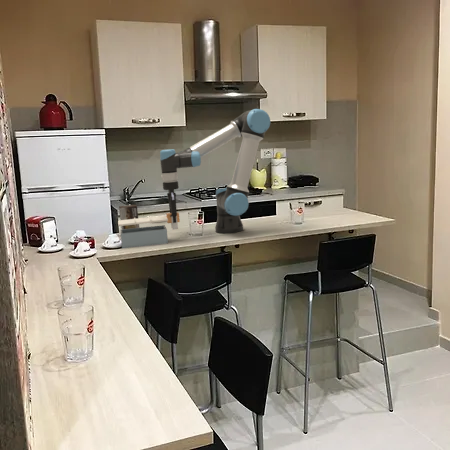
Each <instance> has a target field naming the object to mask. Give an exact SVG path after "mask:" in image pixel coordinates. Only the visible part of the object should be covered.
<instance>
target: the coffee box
mask: <svg viewBox="0 0 450 450" xmlns="http://www.w3.org/2000/svg"><path fill="white" fill-rule="evenodd" d="M118 208H119V209H118V210H119V211H118V212H119V218H120V219H119V220H128V219H134V218H135V219H137V218H139V211H138V205H137V204H128V205H120V206H119V207H118ZM120 227H121V229H131V228H140V224H135V225H125V226H120Z"/></svg>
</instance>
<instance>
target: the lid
mask: <svg viewBox="0 0 450 450" xmlns="http://www.w3.org/2000/svg"><path fill="white" fill-rule="evenodd" d="M170 215H171V213H170V212H166V213H165V215H156V216H151V215H148V216H147V217H138V218H137V219H135V218H134V219H128V220H121V219H119V220H118V221H117V224H118V227H121V226H125V225H135V224H139V225H144V224H152V223H161V222H166V224H171V223H172V220H171V217H170ZM180 222H181V221H180V213H179V211H177V223H180Z"/></svg>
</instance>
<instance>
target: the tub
mask: <svg viewBox="0 0 450 450" xmlns="http://www.w3.org/2000/svg"><path fill="white" fill-rule="evenodd" d="M120 241H121V248H122V249H127V248H128V249H129V248H137V247H138V248H139V247H147V246H155V245H165V244H168V243H169V241H168V229H167V227H166V225H154V226H144V227H139V228H131V229H122V228H121V229H120Z"/></svg>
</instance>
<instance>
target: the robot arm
mask: <svg viewBox="0 0 450 450" xmlns="http://www.w3.org/2000/svg"><path fill="white" fill-rule="evenodd" d="M270 126H271V118H270V116H269V114H268V112H266V111H265V110H264V109H261V108H253V109H251V110H246V111H244V112H243V113H241V114H240V115H239V116H237V117H236V118H234V119H232V120H230V123H229V124H227V125H226V126H224V127H222V128H221V129H219V130H217V131H215V132H214V133H212V134H210V135H208V136H207V137H204V138H203V139H201V140H200V141H198V142H196V143H195V144H193V145H191V146H189V147H188V148H186V149H184V150H181V151H179V152H176V150H175V149H174V148H173V149H172V148H171V149H170V148H169V149H162V150H160V151H159V154H160V155H159V157H160V170H161V175H160V178H162V188H163V189H162V190H163V191H168V192H167V194H166V195H167V201H168V206H169V209H168V210H169V213H171V215H170V217H171V220H172V223H170V225H171V229H172V230H178V229H179V225H178V223H179V222H177V212H178V211H177V193H176V192H175V190H178V189H179V181H178V180H179V176H178V169H186V168H196V167H200V166H201V163H202V157H203V158H204V157H205V156H206V155H208V154H210V153H212V152H213V151H215V150H217V149H219V148H221V147H222V146H223V145H226V144H227V143H229V142H230V141H232V140H234V139H236V138H241V137H242V139H241V145H240V148H239V151H238V155H237V158H236V163H235V166H234V170H233V175H232V178H231V181H230V183H229V184H228V185H227V186H226V187H225V188H218V189H216V190H215V197H216V200H215V201H216V212H217V217H216V218H217V220H216V223H215V227H214V229H215V230H214V231H215V233H219V234H233V233H239V232H242V231H244V224H243V221H242V220H241V216H242V215H243V214H244V213H246V212H247V210H248V209H249V205H250V203H249V202H250V201H249V199H248V197H249V193H250V191H249V189H248V186H249V183H250V180H251V176H252V175H251V174H252V171H253V168H254V163H255V161H256V160H255V159H256V156H257V153H258V148H259V146H260V142H261V141H263V140H264V138H265V134H266V132H267V131H268V130H269V128H270Z"/></svg>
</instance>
